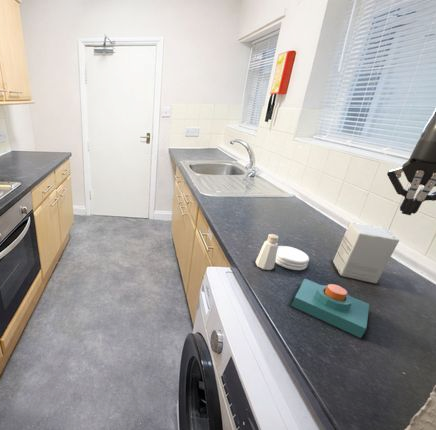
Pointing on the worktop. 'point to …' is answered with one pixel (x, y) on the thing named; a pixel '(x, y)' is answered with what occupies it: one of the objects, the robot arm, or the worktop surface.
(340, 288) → the orange button cap
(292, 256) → the white round stack
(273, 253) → the pepper shaker
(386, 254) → the rectangular carton
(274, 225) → the worktop surface
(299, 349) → the worktop surface
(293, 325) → the worktop surface
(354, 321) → the button base
